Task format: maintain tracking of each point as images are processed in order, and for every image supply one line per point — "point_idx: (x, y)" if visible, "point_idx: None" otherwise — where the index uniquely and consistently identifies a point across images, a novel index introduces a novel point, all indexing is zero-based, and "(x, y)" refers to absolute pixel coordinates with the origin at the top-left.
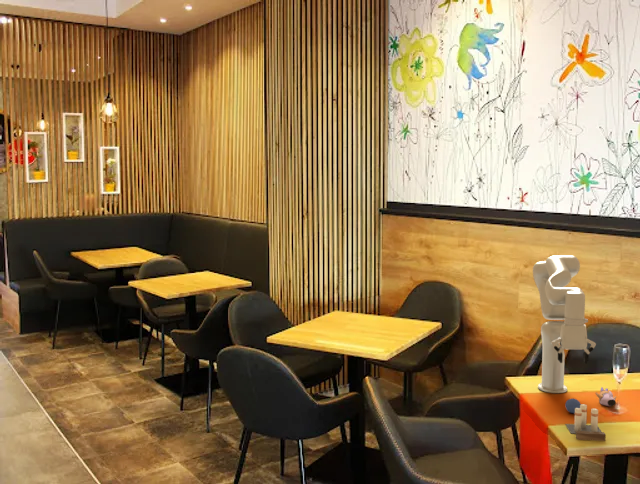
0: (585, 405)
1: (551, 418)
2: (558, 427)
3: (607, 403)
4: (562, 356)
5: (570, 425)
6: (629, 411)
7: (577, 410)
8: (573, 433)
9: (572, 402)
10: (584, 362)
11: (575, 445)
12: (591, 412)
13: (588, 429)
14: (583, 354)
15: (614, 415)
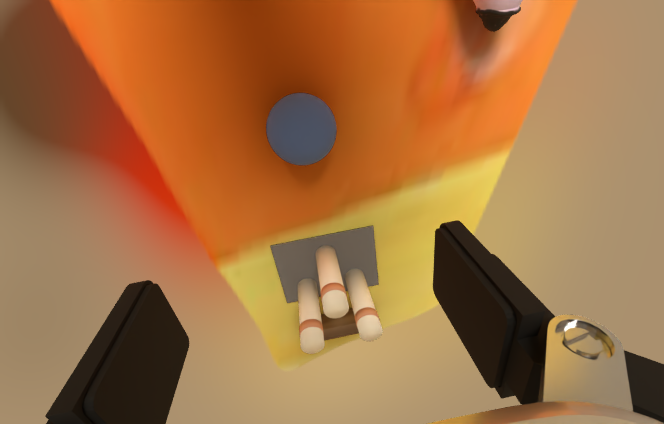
0: (343, 308)
1: (218, 206)
2: (249, 272)
3: (476, 6)
4: (165, 421)
5: (287, 253)
6: (544, 31)
7: (309, 352)
8: (294, 300)
9: (298, 161)
10: (434, 273)
11: (297, 356)
12: (357, 327)
13: (340, 265)
14: (486, 287)
15: (462, 104)
